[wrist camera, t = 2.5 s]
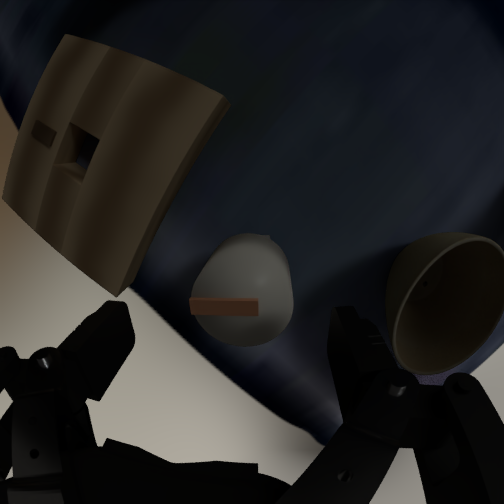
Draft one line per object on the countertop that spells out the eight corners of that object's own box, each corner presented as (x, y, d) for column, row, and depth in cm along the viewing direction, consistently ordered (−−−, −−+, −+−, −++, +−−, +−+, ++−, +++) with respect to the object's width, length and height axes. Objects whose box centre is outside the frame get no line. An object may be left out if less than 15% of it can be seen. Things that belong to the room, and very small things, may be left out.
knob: (286, 218, 19) (294, 258, 12) (286, 281, 21) (291, 349, 13) (218, 220, 20) (183, 259, 12) (223, 281, 21) (196, 347, 13)
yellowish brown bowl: (344, 243, 20) (376, 284, 13) (448, 193, 18) (506, 211, 11) (377, 340, 22) (402, 396, 15) (464, 293, 20) (506, 332, 13)
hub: (230, 105, 17) (222, 94, 14) (133, 281, 22) (114, 299, 19) (84, 42, 15) (63, 32, 12) (22, 192, 20) (-1, 198, 17)
